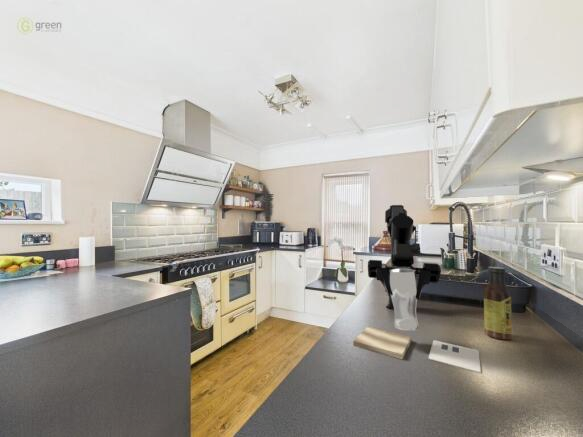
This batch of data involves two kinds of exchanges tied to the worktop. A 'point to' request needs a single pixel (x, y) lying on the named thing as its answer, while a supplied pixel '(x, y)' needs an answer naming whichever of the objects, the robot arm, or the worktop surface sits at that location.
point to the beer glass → (404, 297)
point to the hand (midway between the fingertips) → (403, 297)
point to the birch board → (383, 342)
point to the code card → (455, 356)
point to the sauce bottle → (497, 305)
